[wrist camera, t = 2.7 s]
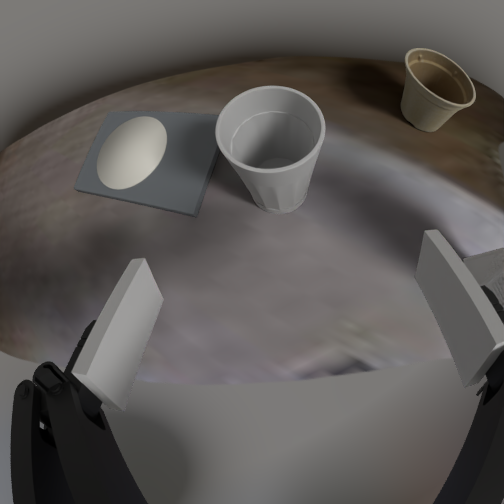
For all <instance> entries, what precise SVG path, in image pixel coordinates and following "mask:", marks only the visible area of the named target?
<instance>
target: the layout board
mask: <svg viewBox="0 0 504 504" xmlns="http://www.w3.org/2000/svg"><path fill="white" fill-rule="evenodd" d="M218 117H219V115H209V114H196V113H180V112H151V111H125V112H109V113H108V115H107V117H106V118H105V120H104V122H103V124H102V126H101V128H100V130H99V132H98V134H97V136H96V138H95V140H94V142H93V144H92V146H91V149H90V151H89V153H88V155H87V157H86V160H85V162H84V164H83V167H82V169H81V171H80V174H79V176H78V179H77V181H76V184H75V186H74V189H75V190H77V191H78V192H83V193H88V194H93V195H97V196H102V197H107V198H112V199H116V200H121V201H126V202H130V203H135V204H139V205H144V206H148V207H153V208H157V209H162V210H166V211H171V212H175V213H179V214H184V215H188V216H193V217H197V215H198V212H199V209H200V206H201V203H202V200H203V197H204V194H205V191H206V189H207V186H208V183H209V180H210V177H211V174H212V171H213V169H214V166H215V163H216V160H217V158H218V155H219V152H220V148H219V146H218V144H217V141H216V135H215V129H216V123H217V120H218Z"/></svg>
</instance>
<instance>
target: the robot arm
mask: <svg viewBox="0 0 504 504" xmlns="http://www.w3.org/2000/svg"><path fill="white" fill-rule="evenodd" d="M415 279H416V281H417V282H418V284H419V286H420V288H421V290H422V292H423V294H424V296H425V298H426V300H427V302H428V304H429V306H430V308H431V310H432V312H433V314H434V316H435V318H436V320H437V323H438V325H439V327H440V329H441V331H442V334H443V336H444V338H445V340H446V343H447V345H448V347H449V350H450V352H451V355H452V357H453V360H454V362H455V365H456V367H457V370H458V372H459V375H460V378H461V380H462V383H463V386H464V388H466V387H468V386H471V385H474V384H476V383H479V381H480V380H481V379H482V378H483V377H484V375H485V374H486V377H487V379H488V380H487V382H486V383H485V384H484V385H483V386H482V387H481V389H480V390H479V391H478V392H477V394H476V395H477V396H478V395H479V394H480V393H481V392H482V391H483V392H482V396H481V399H480V402H479V405H478V408H477V411H476V414H475V417H474V420H473V422H472V425H471V428H470V430H469V433H468V435H467V438H466V440H465V443H464V445H463V447H462V449H461V452H460V454H459V456H458V458H457V460H456V462H455V465H454V467H453V469H452V471H451V472H450V474H449V477H448V478H447V480H446V482H445V484H444V486H443V487H442V490H441V491H440V493H439V494H438V496H437V498H436V499H435V501H434V503H433V504H501V503H502V500H503V498H504V308H503V307H502V305H501V304H499V300H498V299H497V297H496V296H495V294H494V293H493V292H492V291H491V290H490V289H489V288H487V287H486V286H485V285H483V286H479V284H478V283H477V281H476V280H475V278H474V277H473V275H472V274H471V272H470V271H469V270H468V268H467V267H466V265H465V264H464V263H463V261H462V260H461V259H460V257H459V256H458V255H457V253H456V252H455V251H454V249H453V248H452V247H451V246H450V244H449V243H448V242H447V241H446V239H445V238H444V237H443V236H442V234H441V233H440V232H439V231H438V229H436V230H424V235H423V240H422V245H421V250H420V255H419V260H418V264H417V269H416V273H415ZM163 300H164V299H163V297H162V295H161V293H160V291H159V289H158V286H157V284H156V282H155V280H154V278H153V275H152V273H151V271H150V268H149V266H148V264H147V262H146V259H145V258H139V259H132V260H131V261H130V263H129V265H128V266H127V268H126V270H125V271H124V273H123V275H122V276H121V278H120V280H119V281H118V283H117V285H116V287H115V288H114V290H113V292H112V294H111V295H110V297H109V299H108V301H107V303H106V304H105V306H104V308H103V310H102V312H101V313H100V315H99V317H98V319H97V320H93V321H92V322H91V323H90V325H89V326H88V327H87V328H86V329H85V331H84V333H83V335H82V337H81V340H80V341H79V342H78V344H77V347H76V348H75V350H74V352H73V354H72V356H71V359H70V361H69V363H68V365H67V367H66V369H65V371H64V373H63V372H62V371H61V370H60V369H59V368H58V367H57V366H56V365H55V364H54V363H53V362H48V361H47V362H45V363H42V364H41V365H40V366H38V368H37V369H36V370H35V372H34V375H33V382H32V381H30V380H24V381H22V382H21V383H20V384H19V385H18V386H17V388H16V390H15V395H14V402H13V413H12V425H11V481H12V493H13V502H14V504H148V503H147V501H146V500H145V498H144V496H143V495H142V493H141V491H140V489H139V488H138V486H137V484H136V482H135V480H134V478H133V476H132V475H131V473H130V471H129V469H128V467H127V465H126V463H125V461H124V458H123V457H122V454H121V452H120V450H119V448H118V445H117V443H116V441H115V439H114V436H113V434H112V431H111V429H110V427H109V424H108V422H107V419H106V417H105V414H104V412H103V410H102V409H101V408H100V407H101V404H102V402H103V403H104V404H105V405H106V406H107V407H108V408H109V409H113V410H118V411H123V412H124V411H125V408H126V405H127V401H128V398H129V395H130V392H131V389H132V386H133V383H134V380H135V377H136V374H137V371H138V368H139V365H140V362H141V359H142V357H143V354H144V351H145V348H146V345H147V343H148V340H149V337H150V334H151V332H152V329H153V326H154V324H155V321H156V318H157V316H158V313H159V310H160V308H161V305H162V303H163ZM34 383H35V384H34ZM36 385H37V386H36ZM40 422H42V423H43V424H44V429H42V428H40Z"/></svg>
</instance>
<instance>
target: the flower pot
mask: <svg viewBox="0 0 504 504" xmlns="http://www.w3.org/2000/svg"><path fill="white" fill-rule="evenodd" d="M405 66H406V74H407V76H406V82H405V87H404V92H403V96H402V101H401V111H402V113H403V115H404V117H405V118H406V120H407V121H409V122H411V123H412V124H413V125H414V126H415V127H416V128H417V129H419V130H422V131H426V132H433V131H436V130H437V129H439V128H440V127H441V126H442V125H443V124H444V123H445V122H446V121H447V120H448V119H449V118H450V117H451V116H452V115H453V114H455V113H456V112H457V111H458V110H461V109H463V108H465V107H468V106H470V105H472V104H473V102H474V101H475V98H476V93H475V89H474V86H473V84H472V82H471V80H470V78H469V77H468V76H467V74H466V73H465V72H464V71H463V69H462V68H461V67H459V66H458V65H457V64H456V63H455V62H453V61H452V60H451V59H449V58H448V57H446V56H444V55H443V54H441V53H438V52H436V51H433V50H430V49H424V48H416V49H412V50H410V51H409V52H408V53H407V54H406V56H405Z"/></svg>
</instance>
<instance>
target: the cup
mask: <svg viewBox="0 0 504 504" xmlns="http://www.w3.org/2000/svg"><path fill="white" fill-rule="evenodd" d="M215 135H216V141H217V144H218V146H219V148H220V150H221V152H222V153H223V155H224V156H225V157H226V159H227V160H228V161H229V163H230V164H231V166H232V167H233V168H234V170H235V171H236V172H237V173H238V175H239V176H240V178H241V179H242V181H243V182H244V184H245V185H246V187H247V188H248V190H249V192H250V193H251V195H252V198H253V200H254V201H255V203H256V204H257V205H258V206H259V207H260V208H261V209H263V210H264V211H266V212H269V213H273V214H285V213H289V212H292V211H294V210H295V209H297V208H298V207H299V206H300V205H301V204H302V203H303V202H304V200H305V198H306V196H307V193H308V186H309V183H310V179H311V176H312V173H313V170H314V166H315V163H316V160H317V158H318V155H319V151H320V148H321V145H322V142H323V139H324V136H325V121H324V117H323V115H322V112H321V111H320V109H319V107H318V106H317V105H316V104H315V102H314V101H313V100H311V99H310V98H309V97H308V96H306V95H305V94H303V93H301V92H299V91H297V90H294V89H291V88H287V87H282V86H263V87H258V88H254V89H251V90H248V91H246V92H243V93H241V94H240V95H238V96H236V97H235V98H234V99H232V100H231V101H230V102H229V103H228V104H227V105H226V106H225V107H224V109H223V110H222V112H221V113H220V115H219V117H218V120H217V123H216V129H215Z"/></svg>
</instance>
